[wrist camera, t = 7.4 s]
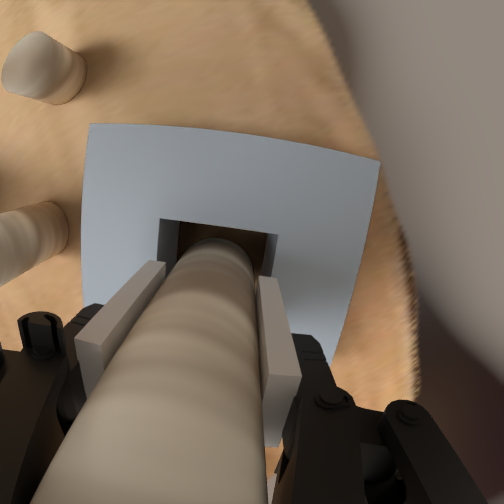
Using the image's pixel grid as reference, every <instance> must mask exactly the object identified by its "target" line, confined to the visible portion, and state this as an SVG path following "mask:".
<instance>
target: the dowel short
mask: <svg viewBox="0 0 504 504" xmlns="http://www.w3.org/2000/svg"><path fill="white" fill-rule="evenodd" d="M86 75H87V65H86V62H85V60H84V59H83V58H82V57H81V56H80V55H78V54H77V53H75V52H74V51H72V50H70V49H69V48H67V47H66V46H64V45H63V44H61V43H60V42H58V41H56V40H55V39H53V38H52V37H50V36H48V35H47V34H45V33H43V32H40V31H36V32H32V33H29V34H28V35H26V36H24V37H23V38H22V39H20V40H19V41H18V42H17V43H16V44H15V46H14V47H13V48H12V49H11V51H10V53H9V54H8V56H7V58H6V60H5V63H4V66H3V69H2V84H3V87H4V88H5V90H6V91H8V92H11V93H14V94H18V95H22V96H25V97H29V98H33V99H36V100H40V101H43V102H46V103H50V104H53V105H61V104H64V103H66V102H68V101H70V100H71V99H72V98H73V97H74V96H75V95H76V94H77V93H78V92H79V91H80V89H81V88H82V86H83V84H84V82H85V79H86Z"/></svg>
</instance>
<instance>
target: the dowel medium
mask: <svg viewBox="0 0 504 504" xmlns="http://www.w3.org/2000/svg"><path fill="white" fill-rule="evenodd" d="M68 236H69V227H68V222H67V219H66V216H65V214H64V213H63V211H62V210H61V208H60V207H59V206H57V205H56V204H54V203H52V202H42V203H38V204H34V205H30V206H26V207H22V208H18V209H15V210H11V211H7V212H4V213H0V287H1V286H2V285H4V284H6V283H7V282H9V281H11V280H12V279H14V278H16V277H17V276H19V275H21V274H23V273H24V272H26V271H28V270H30V269H31V268H33V267H35V266H37V265H38V264H40V263H42V262H44V261H45V260H47V259H49V258H51V257H53V256H55V255H56V254H58V253H60V252H61V251H62V250H63V249H64V248H65V246H66V244H67V241H68Z"/></svg>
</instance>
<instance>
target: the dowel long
mask: <svg viewBox="0 0 504 504" xmlns="http://www.w3.org/2000/svg"><path fill="white" fill-rule="evenodd" d="M30 504H268V494H267V477H266V461H265V444H264V428H263V412H262V396H261V380H260V364H259V348H258V332H257V316H256V300H255V284H254V270H253V266H252V263H251V261H250V258H249V257H248V255H247V254H246V253H245V251H244V250H243V249H242V248H240V247H239V246H238V245H236V244H235V243H233V242H231V241H228V240H226V239H221V238H208V239H204V240H200V241H198V242H196V243H194V244H193V245H191V246H190V247H189V248H188V249H187V250H186V251H185V253H184V254H183V255H182V257H181V258H180V259H179V261H178V262H177V264H176V265H175V266H174V268H173V269H172V271H171V272H170V274H169V275H168V276H167V278H166V279H165V281H164V282H163V283H162V285H161V286H160V288H159V289H158V291H157V292H156V294H155V295H154V296H153V298H152V299H151V301H150V302H149V304H148V305H147V307H146V308H145V310H144V311H143V313H142V314H141V316H140V317H139V318H138V320H137V321H136V323H135V324H134V326H133V327H132V329H131V330H130V332H129V334H128V335H127V337H126V338H125V340H124V341H123V343H122V344H121V346H120V347H119V349H118V350H117V352H116V353H115V355H114V357H113V358H112V360H111V361H110V363H109V364H108V366H107V368H106V369H105V371H104V372H103V374H102V376H101V377H100V379H99V380H98V382H97V384H96V385H95V387H94V389H93V390H92V392H91V393H90V395H89V397H88V398H87V400H86V402H85V403H84V405H83V407H82V408H81V410H80V412H79V414H78V415H77V417H76V419H75V420H74V422H73V424H72V426H71V427H70V429H69V431H68V432H67V434H66V436H65V438H64V440H63V441H62V443H61V445H60V447H59V449H58V450H57V452H56V454H55V456H54V458H53V459H52V461H51V463H50V465H49V467H48V469H47V471H46V473H45V474H44V476H43V478H42V480H41V482H40V484H39V486H38V488H37V490H36V492H35V494H34V496H33V498H32V500H31V502H30Z"/></svg>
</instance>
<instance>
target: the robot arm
mask: <svg viewBox="0 0 504 504" xmlns="http://www.w3.org/2000/svg"><path fill="white" fill-rule="evenodd" d="M165 270H166V262H160V261H154V260H148V261H147V262H146V263H145V264H144V265H143V266H142V267H141V268H140V269H139V270H138V271H137V272H136V273H135V274H134V275H133V276H132V277H131V278H130V279H129V280H128V281H127V282H126V283H125V284H124V285H123V286H122V288H121V289H120V290H119V291H118V292H117V293H116V294H115V295H114V296H113V297H112V298H111V299H110V300H109V301H108V302H107V303H106V304H105V305H102V304H97V303H94V304H91V305H89V306H87V307H85V308H83V309H82V310H81V311H80V312H79V313H78V314H77V315H76V317H74V318H73V319H72V320H71V321H70V322H68V323H67V324H66V325H65V326H64V327H63V324H62V321H61V319H60V317H58V316H57V315H55V314H53V313H50V312H41V311H38V312H32V313H28V314H26V315H23V316H22V317H20V318H19V319H18V320H17V322H18V327H19V331H20V336H21V340H22V344H23V349H22V350H21V352H19V351H11V350H3V349H2V347H1V343H0V504H30V502H31V500H32V498H33V496H34V494H35V492H36V490H37V488H38V486H39V484H40V482H41V480H42V478H43V476H44V474H45V473H46V471H47V469H48V467H49V465H50V463H51V461H52V459H53V458H54V456H55V454H56V452H57V450H58V449H59V447H60V445H61V443H62V441H63V440H64V438H65V436H66V434H67V432H68V431H69V429H70V427H71V426H72V424H73V422H74V420H75V419H76V417H77V415H78V414H79V412H80V410H81V408H82V407H83V405H84V403H85V402H86V400H87V398H88V397H89V395H90V393H91V392H92V390H93V389H94V387H95V385H96V384H97V382H98V380H99V379H100V377H101V376H102V374H103V372H104V371H105V369H106V368H107V366H108V364H109V363H110V361H111V360H112V358H113V357H114V355H115V353H116V352H117V350H118V349H119V347H120V346H121V344H122V343H123V341H124V340H125V338H126V337H127V335H128V334H129V332H130V330H131V329H132V327H133V326H134V324H135V323H136V321H137V320H138V318H139V317H140V316H141V314H142V313H143V311H144V310H145V308H146V307H147V305H148V304H149V302H150V301H151V299H152V298H153V296H154V295H155V294H156V292H157V291H158V289H159V288H160V286H161V285H162V283H163V282H164V281H165ZM255 300H256V316H257V332H258V348H259V364H260V380H261V396H262V412H263V428H264V444H265V447H279V444H280V441H281V438H283V447H284V449H283V452H282V455H281V457H280V460H279V462H278V465H277V467H276V470H275V472H274V473H277V477H276V483H275V488H274V494H273V499H272V504H488V503H487V501H486V499H485V498H484V496H483V494H482V493H481V491H480V489H479V488H478V486H477V485H476V483H475V482H474V480H473V478H472V477H471V475H470V474H469V472H468V471H467V469H466V468H465V466H464V464H463V463H462V461H461V460H460V458H459V457H458V455H457V454H456V452H455V451H454V449H453V448H452V446H451V445H450V443H449V442H448V440H447V439H446V438H445V436H444V434H443V433H442V432H441V430H440V429H439V427H438V425H437V424H436V422H435V421H434V420H433V418H432V417H431V415H430V414H429V413H428V411H427V410H426V409H425V408H423V407H422V406H421V405H419V404H417V403H416V402H413V401H409V400H396V401H392V402H391V403H390V404H389V405H387V407H386V409H385V411H384V412H380V411H375V410H369V409H364V408H361V407H358V406H356V405H355V402H354V400H353V397H352V396H351V395H350V394H349V393H348V392H346V391H345V390H343V389H341V388H339V387H337V386H336V383H335V381H334V378H333V375H332V373H331V370H330V367H329V365H328V362H326V357H325V355H324V354H323V353H324V352H323V349H322V347H321V344H320V343H319V342H318V341H317V340H316V339H315V338H314V337H313V336H312V335H307V334H296V333H291V331H290V327H289V323H288V319H287V315H286V311H285V307H284V304H283V300H282V296H281V292H280V288H279V284H278V281H277V278H273V277H265V276H259V278H258V284H257V290H256V296H255Z"/></svg>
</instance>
